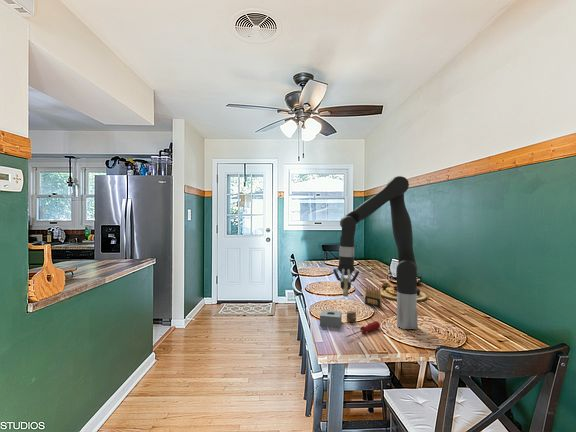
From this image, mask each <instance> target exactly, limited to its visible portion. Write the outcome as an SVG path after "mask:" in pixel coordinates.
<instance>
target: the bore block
mask: <svg viewBox="0 0 576 432" xmlns="http://www.w3.org/2000/svg"><path fill="white" fill-rule="evenodd" d="M342 312H343V311H341V310H333V309H322V310H321V312H320V314H319V326H321V327H331V328H339V329H340V328H341V325H342V316H343V313H342Z"/></svg>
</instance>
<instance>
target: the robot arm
mask: <svg viewBox="0 0 576 432" xmlns="http://www.w3.org/2000/svg"><path fill="white" fill-rule="evenodd" d="M409 186H410V183H409V180H408V179H407V178H406V177H405V176H402V175H399V176H398V175H397V176H394V177H393V178H391V179H390V180H388V182H387V184H386V186H385V187H383V189H382V190H380V191H379V192H377V193H376V194H375V195H373V196H372V197H369V199H367V200H365V201H364V202H362V203H361V204H360V205H358V206H357V207H356V208H355V209H353V210H352V211H350V212H349V213H347V214H346V215H344V216H343V217H342V218H341V219H340V221H339V225H340V227H341V235H340V239H339V240H340V241H339V250H338V251H339V253H338V266H337V267H336V268H333V270H332V271H333V274H334V276H335V278H336V280H337V281H339V282H340V288H341V290H343V283H344V282H343V278H345V276H347V278H348V291H349V290H351V287H352V283H353V282H355V281H356V279H357V278H358V276H359V274H360V270H358V269H356V268H355V234H356V226H357V224H358V223H360V222H362V221H364V220H365V219H367V218H369V217H370V216H371V215H373V213H375V212H376V211H378V210H379V209H380V208H382V207H383V206H384V205H385V204H387V203H388V202H389V205H390V216H391V228H392V235H393V239H394V243H395V246H396V248H397V257H398V258H397V259H398V260H397V262H398V264H397V266H396V270H395V271H396V272H395V273H396V275H395V277H396V284H395V285H397V301H396V327H397V326H398V328H399V327H400V328H399V329H401V328H402V329H401V330H405V329H417V330H418V316H419V315H418V313H419V312H418V311H419V310H418V309H417V308H418V307H417V305H418V302H417V288H418V286H417V283H418V282H417V279H418V277H417V275H418V267H417V266H418V265H417V262H416V259H415V255H414V248H413V247H414V246H413V245H414V241H413V239H414V238H413V226H412V220H411V216H410V214H409V211H408V210H407V207H406V203H405V193H406V192H407V190H408V189H409V188H410V187H409ZM338 272H339V273H340V275H339V273H338ZM353 273H354V276H353V277H352V274H353ZM340 276H341V277H340Z"/></svg>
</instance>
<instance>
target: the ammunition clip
mask: <svg viewBox="0 0 576 432" xmlns="http://www.w3.org/2000/svg"><path fill="white" fill-rule="evenodd" d="M380 289H381V287H377V286H371V285H366V287H365V297H364V304H365V305H368V306H371V307H372V306H373V307H376V308H382V297H381V290H380ZM378 291H379V292H378Z"/></svg>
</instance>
